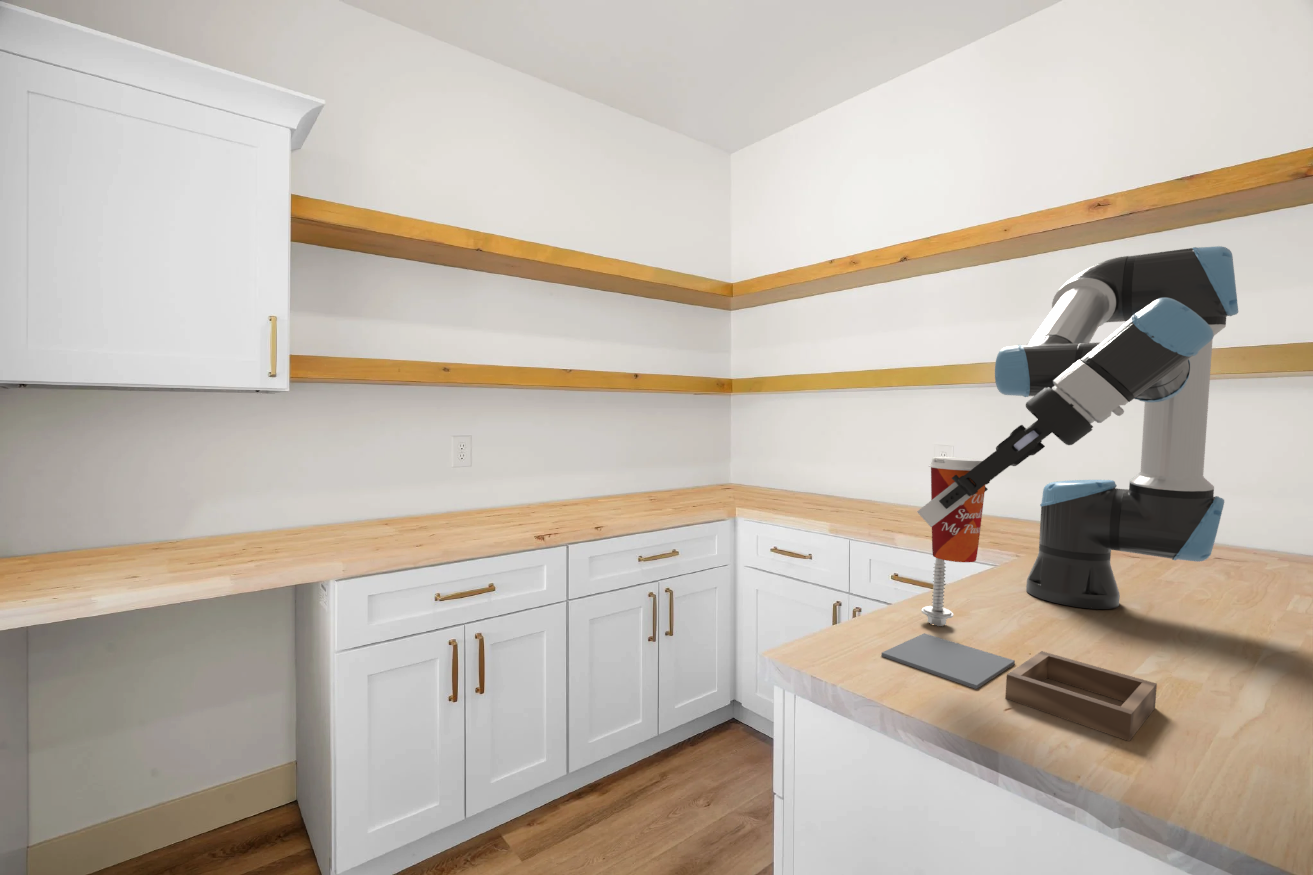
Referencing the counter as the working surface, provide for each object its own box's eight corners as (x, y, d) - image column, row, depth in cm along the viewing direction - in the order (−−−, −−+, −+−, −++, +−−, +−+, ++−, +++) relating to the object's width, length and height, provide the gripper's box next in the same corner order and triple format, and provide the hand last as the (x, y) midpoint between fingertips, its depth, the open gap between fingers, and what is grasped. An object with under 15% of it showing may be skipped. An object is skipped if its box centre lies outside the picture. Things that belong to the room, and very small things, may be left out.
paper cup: (951, 565, 82) (956, 460, 81) (912, 552, 89) (917, 456, 89) (998, 563, 84) (1004, 461, 83) (957, 550, 91) (962, 456, 91)
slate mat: (924, 636, 96) (924, 633, 96) (1014, 663, 87) (1014, 660, 87) (881, 655, 88) (881, 652, 88) (976, 689, 78) (976, 685, 78)
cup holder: (1040, 672, 84) (1041, 651, 84) (1155, 707, 75) (1156, 683, 74) (1005, 698, 76) (1006, 674, 76) (1129, 741, 66) (1131, 714, 66)
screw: (958, 626, 102) (941, 631, 99) (931, 617, 106) (914, 621, 103) (962, 548, 101) (945, 551, 99) (935, 542, 105) (918, 545, 103)
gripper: (1100, 427, 69) (936, 548, 78) (1094, 426, 86) (960, 525, 95) (1046, 379, 71) (894, 502, 81) (1051, 387, 88) (925, 488, 98)
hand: (930, 515), depth 88 cm, fingers closed on paper cup, 8 cm apart
